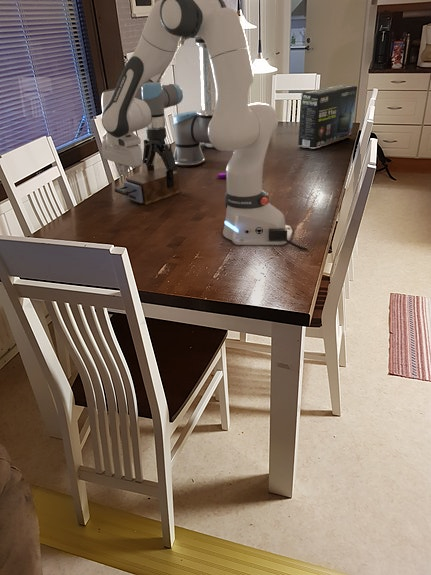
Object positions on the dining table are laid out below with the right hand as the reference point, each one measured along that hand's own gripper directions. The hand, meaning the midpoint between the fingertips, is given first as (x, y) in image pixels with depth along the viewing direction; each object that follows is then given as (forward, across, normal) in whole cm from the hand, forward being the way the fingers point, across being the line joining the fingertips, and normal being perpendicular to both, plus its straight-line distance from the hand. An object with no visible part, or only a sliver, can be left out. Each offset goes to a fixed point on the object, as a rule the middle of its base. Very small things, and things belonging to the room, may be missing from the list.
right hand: (124, 175), depth 170 cm
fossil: (+12, -36, +84) cm, 92 cm away
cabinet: (+11, 0, +13) cm, 17 cm away
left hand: (+8, 0, +17) cm, 19 cm away
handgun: (+11, +14, +44) cm, 47 cm away
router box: (+11, +9, +123) cm, 124 cm away
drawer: (+10, 0, +8) cm, 13 cm away
